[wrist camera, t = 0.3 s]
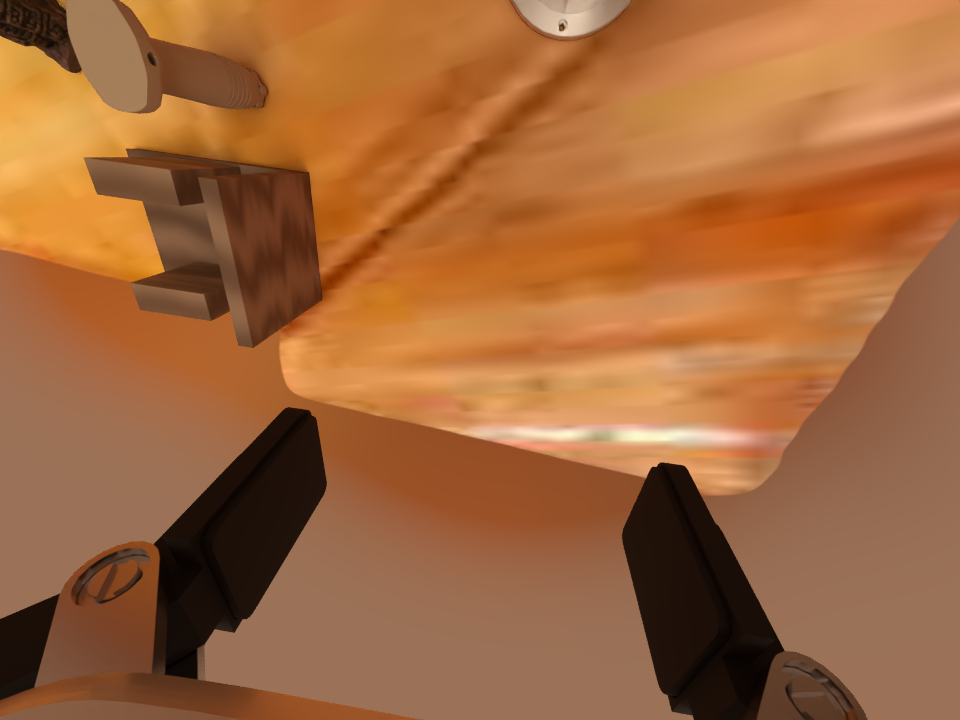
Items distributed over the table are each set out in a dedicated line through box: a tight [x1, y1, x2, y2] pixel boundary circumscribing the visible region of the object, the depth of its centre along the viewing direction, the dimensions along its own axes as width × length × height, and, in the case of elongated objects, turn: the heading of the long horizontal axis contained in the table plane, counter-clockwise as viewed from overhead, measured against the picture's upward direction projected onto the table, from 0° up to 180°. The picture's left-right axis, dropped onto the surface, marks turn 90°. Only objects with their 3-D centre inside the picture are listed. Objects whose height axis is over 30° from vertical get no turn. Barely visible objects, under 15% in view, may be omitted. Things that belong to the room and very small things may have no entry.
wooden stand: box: [84, 149, 322, 348], centre depth 39 cm, size 15×20×14 cm
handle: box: [66, 0, 267, 113], centre depth 31 cm, size 5×6×15 cm
